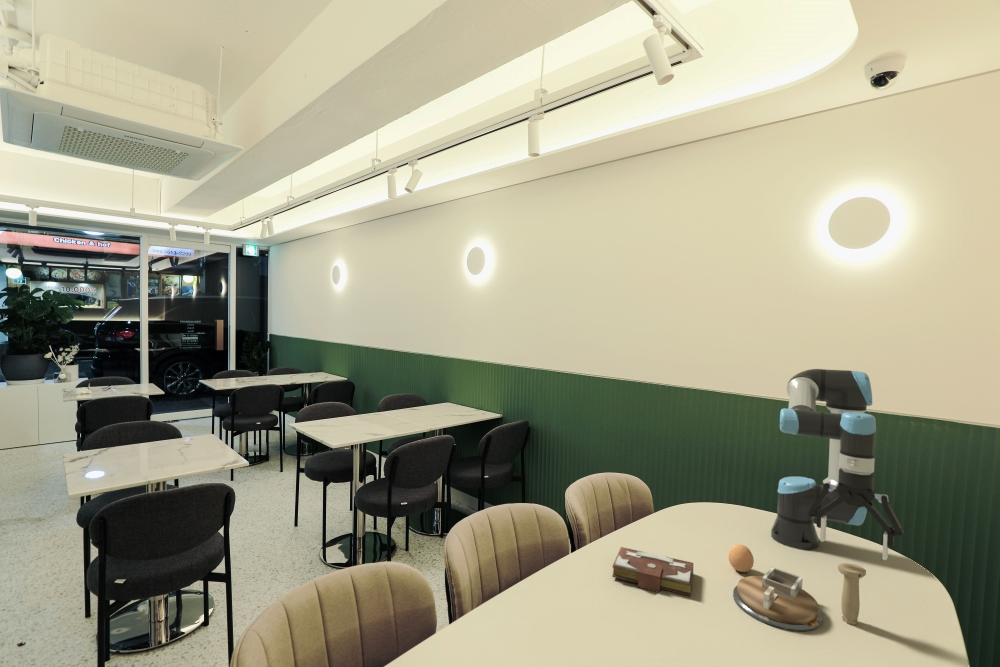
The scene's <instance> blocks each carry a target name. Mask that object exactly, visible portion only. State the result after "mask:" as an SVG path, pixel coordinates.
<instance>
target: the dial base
mask: <svg viewBox="0 0 1000 667" xmlns="http://www.w3.org/2000/svg"><path fill="white" fill-rule="evenodd" d="M732 593H733V596H732V597H733V601H734V603H735V604H736V605H737V607H738V608H739V609H740V610H742V611H743V612H744V613H745V614H746V615H748V616H750V617H751V618H753V619H755V620H757V621H759V622H760V623H763V624H765V625H767V626H770V627H773V628H776V629H780V630H785V631H789V632H790V631H791V632H799V633H800V632H801V633H802V632H805V633H806V632H811V631H815V630H818V629H819V628H820V627H821V626H822V625H823V617H824V616H823V615H824V614H823V613H822V611H821V609H820V608H819V609H818V618H817V619H816V620H815V621H814V622H812V623H808V624H789V623H784V622H779V621H776V620H773V619H770V618H768V617H765V616H763V615H761V614H758V613H756V612H755V611H753V610H751V609H750V608H748V607H747V606H746V605H745V604H744V603H743V602H742V601H741V600H740V599H739V597H738V594H737V585H736V586H735V587H734V589H733V592H732Z"/></svg>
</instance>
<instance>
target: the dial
mask: <svg viewBox="0 0 1000 667" xmlns="http://www.w3.org/2000/svg"><path fill="white" fill-rule="evenodd" d="M736 586H737V594H738V597H739V599H740V600H741V601H742V602H743V603H744V604H745V605H746V606H747V607H748V608H750V609H751V610H753V611H755V612H756V613H758V614H761V615H763V616H765V617H768V618H770V619H773V620H776V621H779V622H784V623H789V624H808V623H812V622H814V621H815V620H816V619H817V618H818V609H820V607H819V603H818V601H817V600H816V599H815V597H814V596H812V595H811V594H810V593H809V592H807V591H806V590H805V589H802V588H803V577H802V576H799V575H796V574H793V573H790V572H788V571H785V570H782V569H779V568H775V567H773V566H772V567H770V568H769V569H768V571H766V573H765V574H764V575H750V576H746V577H743V578H741V579H740V580H738V582H737V585H736Z"/></svg>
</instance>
